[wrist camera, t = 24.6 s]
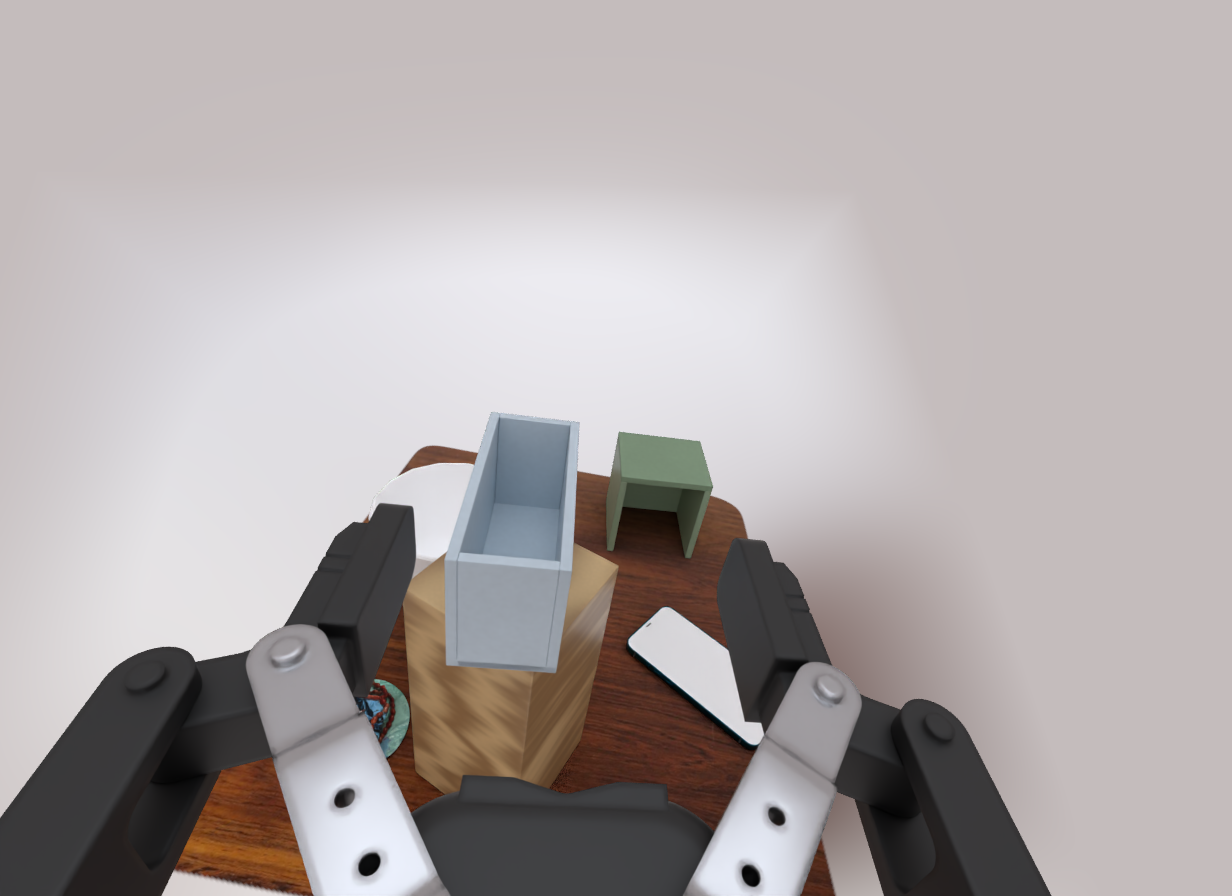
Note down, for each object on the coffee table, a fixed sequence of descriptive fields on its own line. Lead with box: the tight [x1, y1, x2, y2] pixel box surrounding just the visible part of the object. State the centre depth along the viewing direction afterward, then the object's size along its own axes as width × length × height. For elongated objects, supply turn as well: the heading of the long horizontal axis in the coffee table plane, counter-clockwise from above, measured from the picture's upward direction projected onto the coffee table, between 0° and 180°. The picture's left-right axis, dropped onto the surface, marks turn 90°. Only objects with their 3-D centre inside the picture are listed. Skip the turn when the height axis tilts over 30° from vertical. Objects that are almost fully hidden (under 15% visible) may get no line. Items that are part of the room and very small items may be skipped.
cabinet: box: [606, 432, 713, 558], centre depth 73 cm, size 10×11×12 cm
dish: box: [354, 679, 410, 758], centre depth 48 cm, size 8×7×8 cm
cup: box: [369, 463, 474, 578], centre depth 55 cm, size 14×14×16 cm
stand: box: [403, 543, 619, 795], centre depth 43 cm, size 10×10×22 cm
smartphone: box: [626, 606, 764, 750], centre depth 58 cm, size 8×1×16 cm
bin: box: [444, 412, 579, 673], centre depth 34 cm, size 14×6×8 cm, turn 2°
